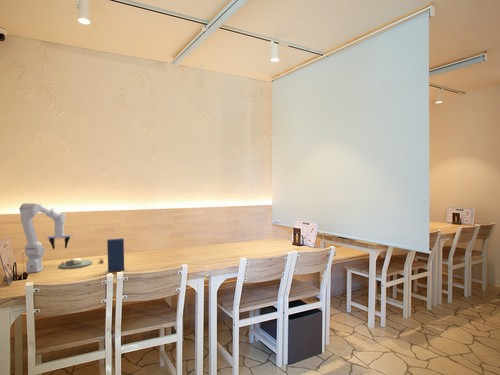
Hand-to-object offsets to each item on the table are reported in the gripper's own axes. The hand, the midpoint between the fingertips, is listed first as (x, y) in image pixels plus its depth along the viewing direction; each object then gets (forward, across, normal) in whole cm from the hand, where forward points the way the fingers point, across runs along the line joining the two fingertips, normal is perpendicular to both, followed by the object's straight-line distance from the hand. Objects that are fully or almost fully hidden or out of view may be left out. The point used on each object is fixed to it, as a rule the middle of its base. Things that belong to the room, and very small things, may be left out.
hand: (59, 248), depth 228 cm
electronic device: (+10, -40, +38) cm, 56 cm away
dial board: (+10, -13, +13) cm, 21 cm away
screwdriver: (+10, -28, +10) cm, 31 cm away
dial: (+9, -11, +15) cm, 20 cm away
